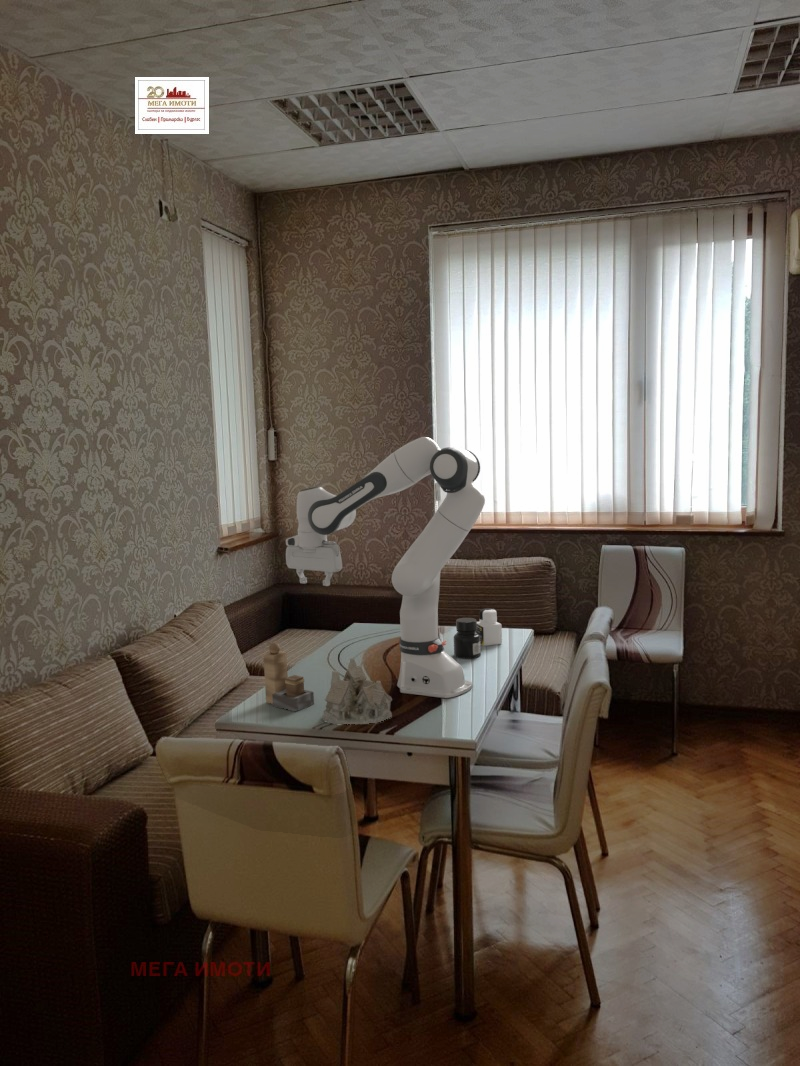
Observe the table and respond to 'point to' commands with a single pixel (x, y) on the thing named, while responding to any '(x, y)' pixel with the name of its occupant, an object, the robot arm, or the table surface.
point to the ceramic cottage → (356, 699)
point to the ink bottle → (466, 639)
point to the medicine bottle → (489, 627)
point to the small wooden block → (294, 686)
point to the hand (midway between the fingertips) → (314, 584)
